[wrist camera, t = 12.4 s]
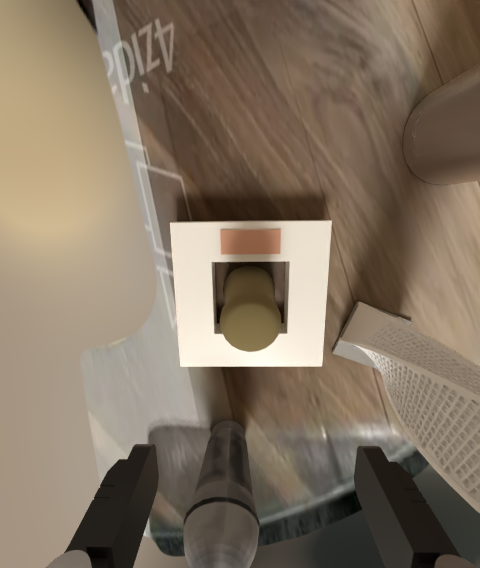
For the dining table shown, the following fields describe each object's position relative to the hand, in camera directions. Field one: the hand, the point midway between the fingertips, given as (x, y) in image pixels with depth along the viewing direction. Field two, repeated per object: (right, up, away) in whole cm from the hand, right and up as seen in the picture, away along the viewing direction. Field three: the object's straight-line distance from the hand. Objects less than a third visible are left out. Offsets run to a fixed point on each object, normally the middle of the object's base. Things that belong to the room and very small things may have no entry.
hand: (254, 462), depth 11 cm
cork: (0, +6, +22) cm, 23 cm away
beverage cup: (-2, -13, +27) cm, 30 cm away
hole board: (+1, +6, +22) cm, 23 cm away
